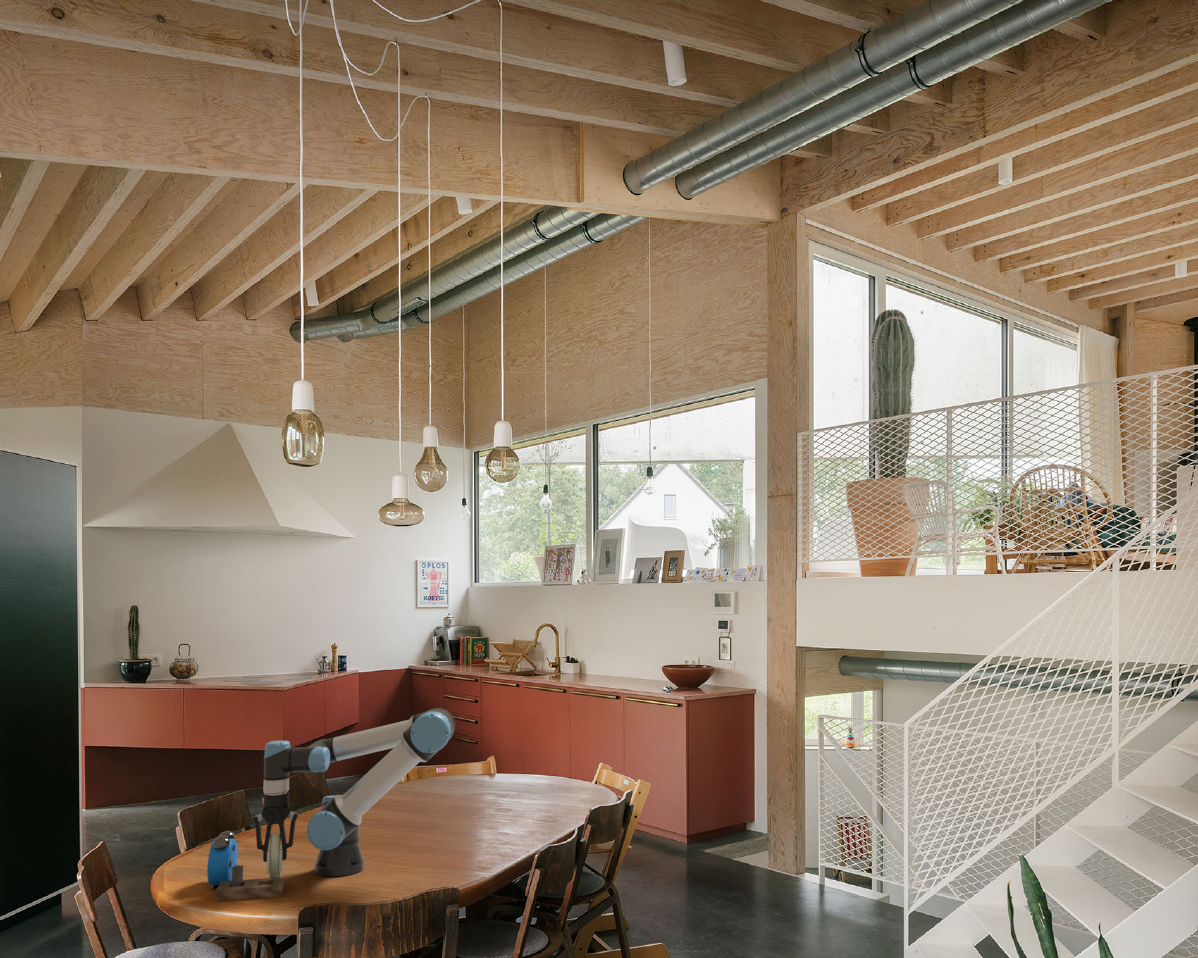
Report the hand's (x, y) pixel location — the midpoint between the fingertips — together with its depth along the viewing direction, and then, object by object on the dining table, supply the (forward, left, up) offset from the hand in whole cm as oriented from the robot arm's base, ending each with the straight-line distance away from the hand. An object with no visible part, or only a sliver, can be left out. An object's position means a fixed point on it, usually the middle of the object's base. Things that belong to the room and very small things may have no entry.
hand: (274, 871), depth 292 cm
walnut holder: (+5, +10, -3) cm, 12 cm away
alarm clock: (+15, -2, -4) cm, 16 cm away
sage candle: (0, 0, -2) cm, 2 cm away
